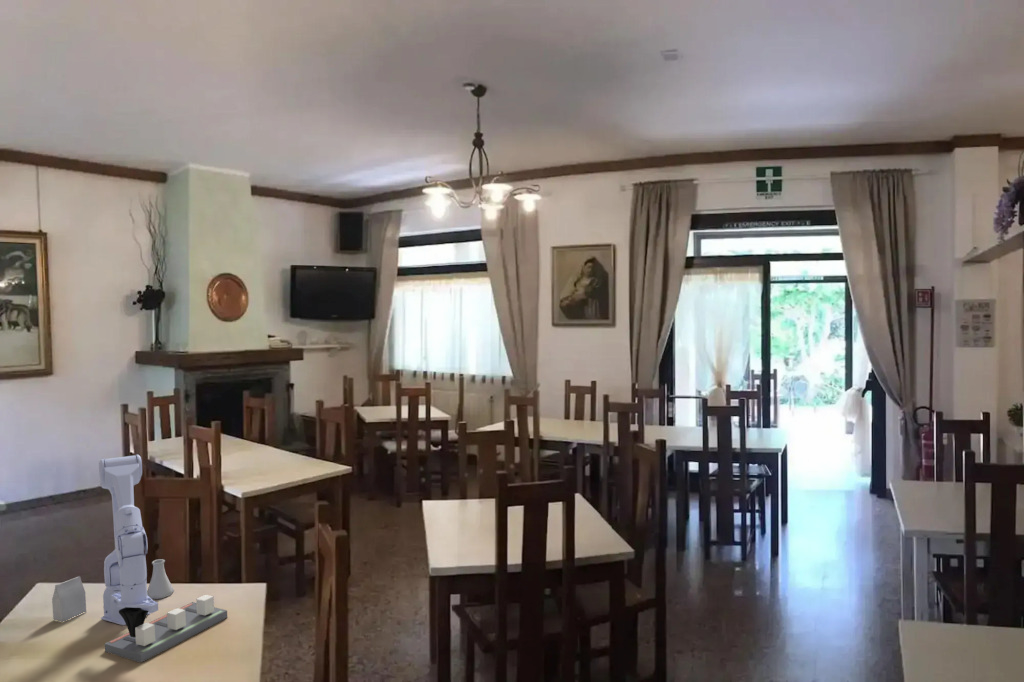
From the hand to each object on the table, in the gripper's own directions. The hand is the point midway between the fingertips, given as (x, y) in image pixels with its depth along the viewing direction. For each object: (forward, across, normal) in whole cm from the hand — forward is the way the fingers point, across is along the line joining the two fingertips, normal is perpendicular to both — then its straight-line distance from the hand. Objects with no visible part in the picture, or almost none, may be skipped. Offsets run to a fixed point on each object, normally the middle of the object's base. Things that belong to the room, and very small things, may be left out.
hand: (136, 635), depth 177 cm
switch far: (+1, +3, +18) cm, 18 cm away
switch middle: (+1, +4, +9) cm, 10 cm away
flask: (+4, -23, +25) cm, 34 cm away
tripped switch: (+1, +4, 0) cm, 4 cm away
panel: (+3, 0, +9) cm, 10 cm away
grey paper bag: (+4, -33, +5) cm, 34 cm away
